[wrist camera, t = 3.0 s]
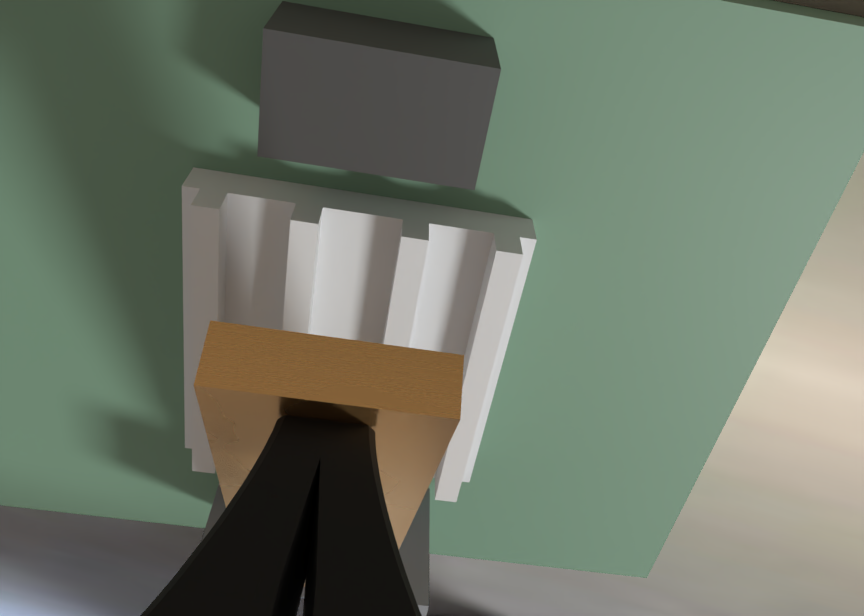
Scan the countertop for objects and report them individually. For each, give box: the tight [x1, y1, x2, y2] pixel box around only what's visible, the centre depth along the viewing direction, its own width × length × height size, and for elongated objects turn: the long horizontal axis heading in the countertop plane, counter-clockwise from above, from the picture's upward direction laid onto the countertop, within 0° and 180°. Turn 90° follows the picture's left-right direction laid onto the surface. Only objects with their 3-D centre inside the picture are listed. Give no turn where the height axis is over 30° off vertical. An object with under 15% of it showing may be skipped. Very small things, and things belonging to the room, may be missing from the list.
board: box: [0, 0, 864, 616], centre depth 19 cm, size 18×22×5 cm
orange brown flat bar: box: [194, 320, 464, 598], centre depth 17 cm, size 14×4×1 cm, turn 170°
